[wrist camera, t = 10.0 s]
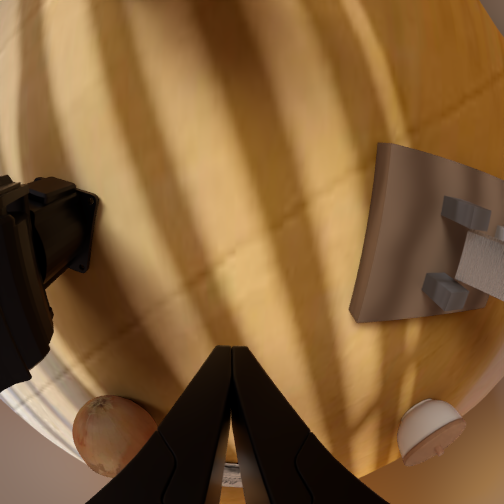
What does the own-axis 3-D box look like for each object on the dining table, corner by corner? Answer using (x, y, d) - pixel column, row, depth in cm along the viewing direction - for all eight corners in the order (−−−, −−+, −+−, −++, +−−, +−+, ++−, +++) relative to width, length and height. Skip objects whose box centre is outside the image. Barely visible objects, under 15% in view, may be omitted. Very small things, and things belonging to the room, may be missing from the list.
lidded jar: (432, 381, 29) (462, 427, 21) (451, 395, 32) (476, 432, 24) (375, 427, 32) (396, 475, 23) (404, 434, 35) (423, 473, 26)
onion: (118, 428, 28) (102, 488, 19) (72, 379, 25) (42, 445, 15) (180, 425, 28) (173, 496, 19) (137, 372, 24) (112, 455, 15)
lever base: (348, 310, 23) (384, 367, 16) (377, 142, 18) (442, 147, 11) (476, 299, 25) (513, 331, 18) (505, 183, 19) (554, 200, 13)
